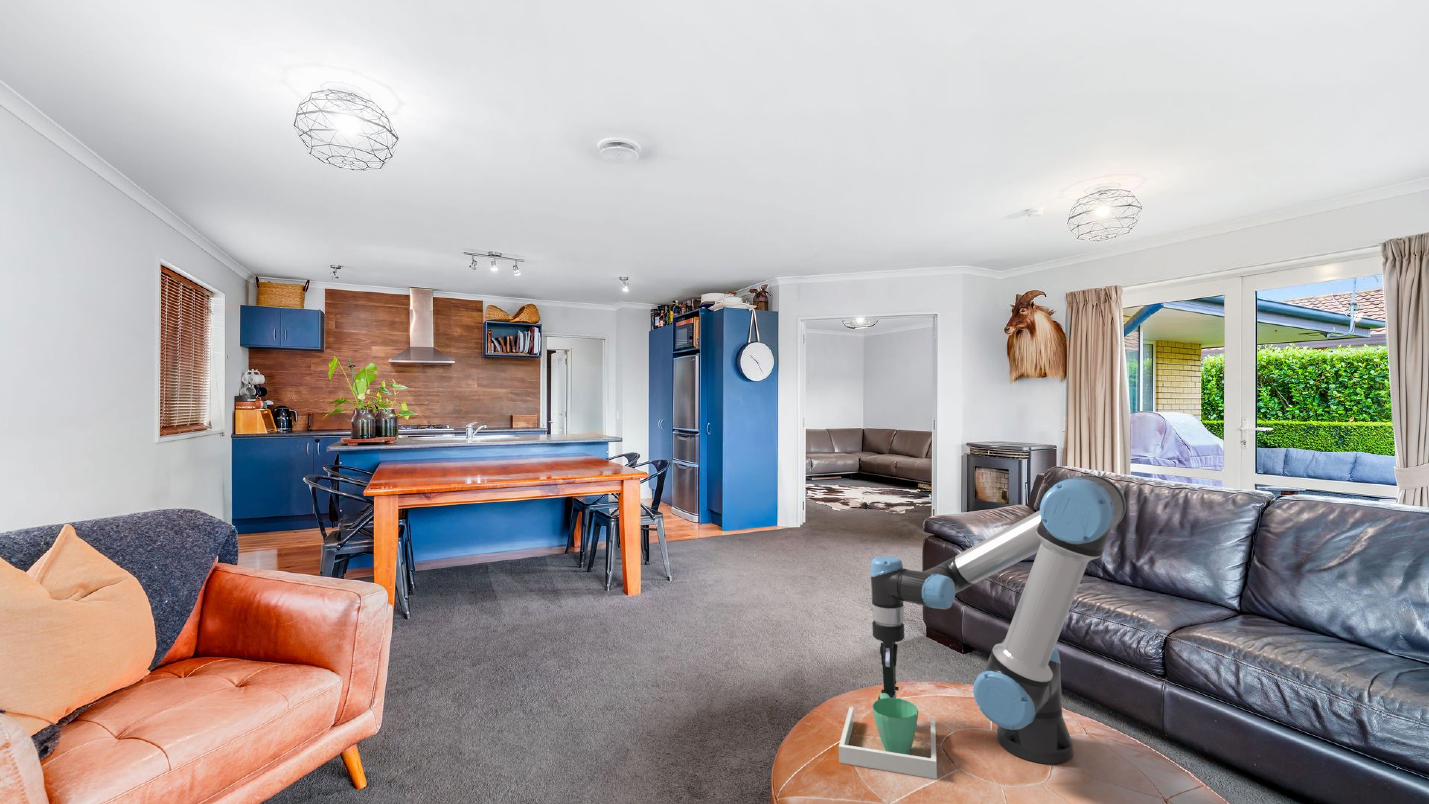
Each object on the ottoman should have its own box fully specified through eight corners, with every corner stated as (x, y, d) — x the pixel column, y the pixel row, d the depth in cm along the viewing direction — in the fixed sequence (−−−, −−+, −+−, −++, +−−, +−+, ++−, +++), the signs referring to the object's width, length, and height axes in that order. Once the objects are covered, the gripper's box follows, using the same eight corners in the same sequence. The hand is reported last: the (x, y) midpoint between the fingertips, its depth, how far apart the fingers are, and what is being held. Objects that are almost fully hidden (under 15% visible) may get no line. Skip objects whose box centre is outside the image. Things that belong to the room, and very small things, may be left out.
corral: (935, 733, 140) (935, 718, 140) (936, 779, 122) (936, 761, 122) (849, 721, 147) (849, 706, 147) (839, 762, 129) (838, 746, 129)
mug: (927, 764, 127) (924, 717, 128) (882, 767, 127) (880, 719, 128) (903, 729, 142) (901, 687, 142) (863, 732, 142) (861, 689, 142)
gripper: (874, 611, 153) (877, 704, 152) (869, 628, 140) (872, 729, 140) (904, 614, 150) (907, 708, 149) (902, 632, 138) (906, 734, 137)
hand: (890, 718), depth 144 cm, fingers closed
